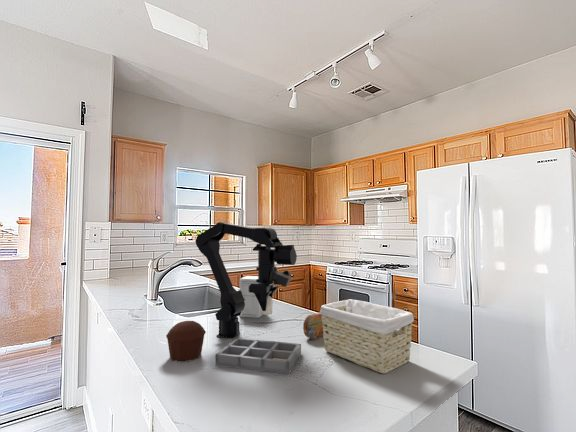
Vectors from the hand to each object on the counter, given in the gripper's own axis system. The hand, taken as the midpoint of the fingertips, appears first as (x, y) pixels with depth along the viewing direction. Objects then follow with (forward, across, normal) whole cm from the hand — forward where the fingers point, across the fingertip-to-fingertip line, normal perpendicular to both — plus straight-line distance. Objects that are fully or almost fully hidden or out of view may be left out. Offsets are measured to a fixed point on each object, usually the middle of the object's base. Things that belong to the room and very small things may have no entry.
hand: (266, 309), depth 111 cm
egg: (+1, 0, 0) cm, 1 cm away
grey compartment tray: (+11, -16, -3) cm, 19 cm away
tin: (+11, +10, -17) cm, 23 cm away
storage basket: (+11, -5, -33) cm, 36 cm away
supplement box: (+11, +31, +17) cm, 37 cm away
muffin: (+11, -19, +19) cm, 29 cm away
